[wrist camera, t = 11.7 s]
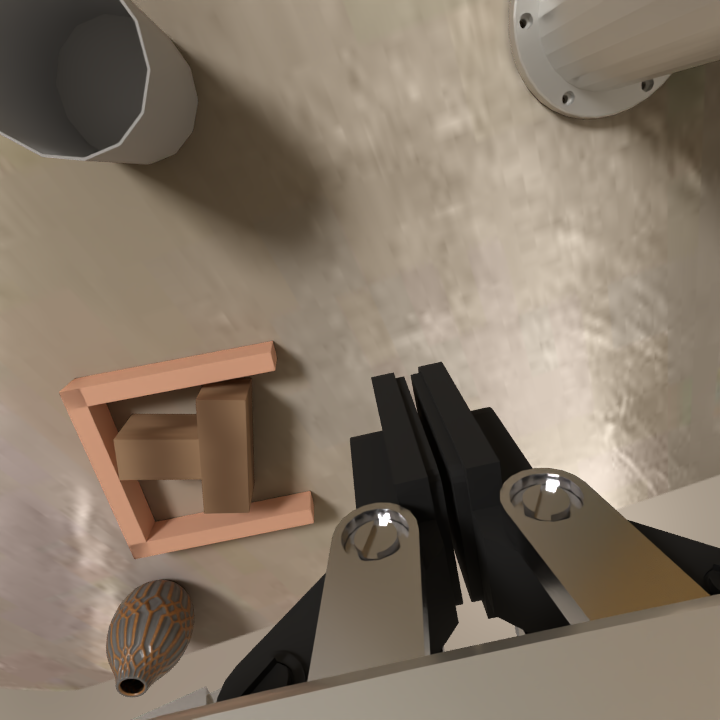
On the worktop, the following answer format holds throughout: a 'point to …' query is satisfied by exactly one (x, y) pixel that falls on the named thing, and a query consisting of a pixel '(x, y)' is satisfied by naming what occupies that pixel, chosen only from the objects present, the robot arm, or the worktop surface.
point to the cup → (92, 82)
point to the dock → (126, 496)
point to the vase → (148, 635)
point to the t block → (197, 446)
